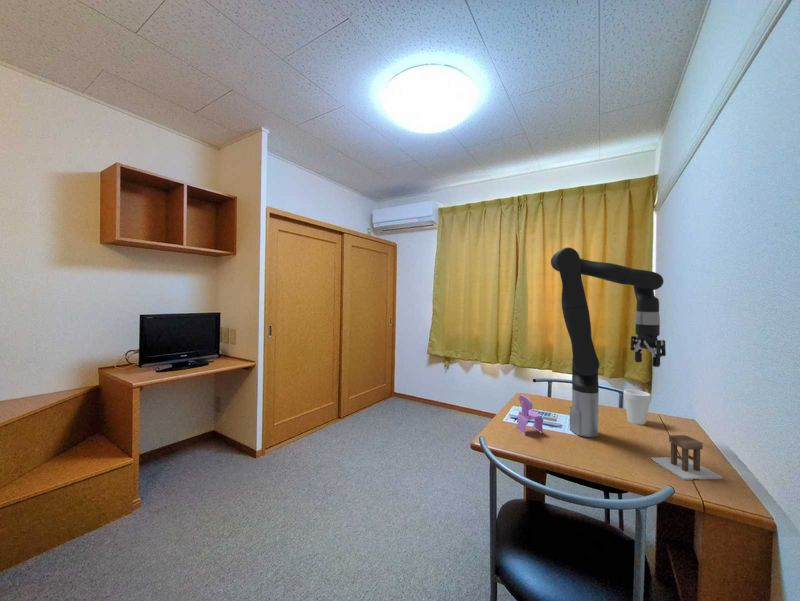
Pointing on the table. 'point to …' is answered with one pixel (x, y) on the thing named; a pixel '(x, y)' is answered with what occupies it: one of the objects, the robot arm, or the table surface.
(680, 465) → the mat
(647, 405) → the foam cup
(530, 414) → the toy chair
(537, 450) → the table surface
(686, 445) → the stool
